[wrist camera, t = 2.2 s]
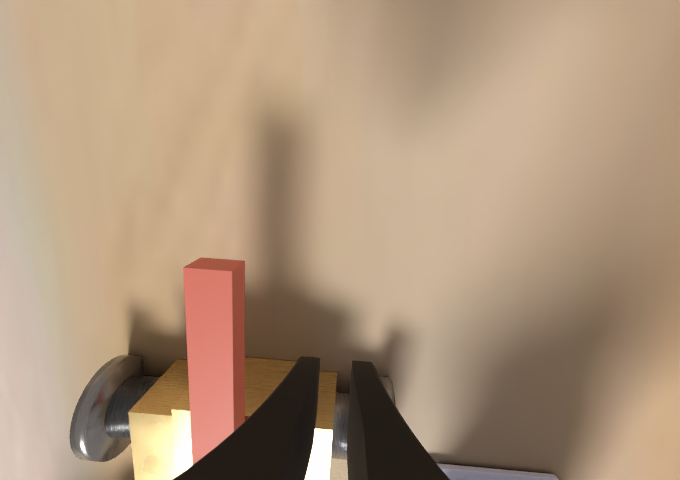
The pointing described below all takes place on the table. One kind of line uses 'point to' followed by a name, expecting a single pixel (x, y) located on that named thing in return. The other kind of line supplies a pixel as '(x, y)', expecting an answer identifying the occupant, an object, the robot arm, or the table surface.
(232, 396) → the lever
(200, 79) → the table surface
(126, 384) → the valve pipe
